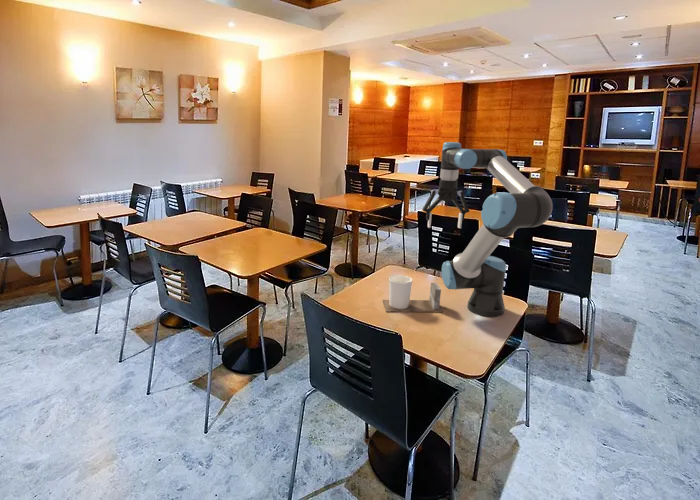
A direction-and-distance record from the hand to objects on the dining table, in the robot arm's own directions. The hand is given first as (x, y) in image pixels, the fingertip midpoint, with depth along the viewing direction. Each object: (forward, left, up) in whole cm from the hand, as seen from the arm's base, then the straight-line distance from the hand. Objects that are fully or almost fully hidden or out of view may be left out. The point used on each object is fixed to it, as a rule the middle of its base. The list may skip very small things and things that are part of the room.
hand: (444, 227), depth 195 cm
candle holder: (+12, +21, -31) cm, 40 cm away
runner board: (+7, +19, -32) cm, 38 cm away
